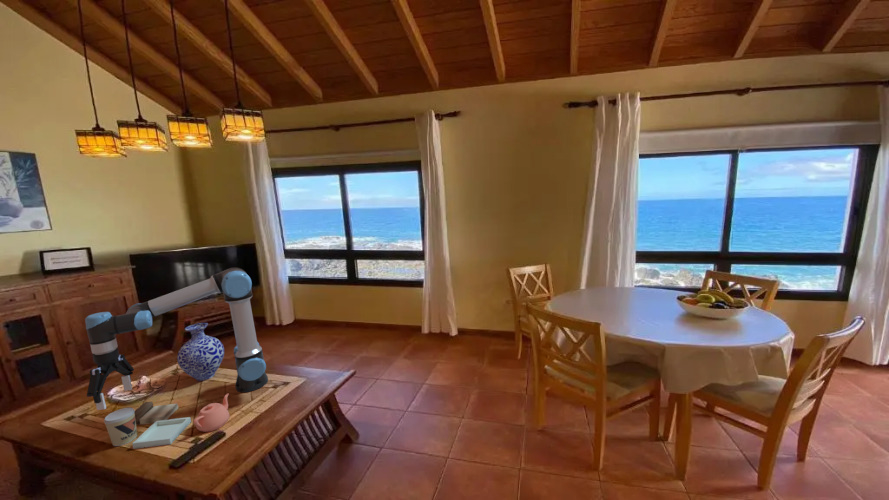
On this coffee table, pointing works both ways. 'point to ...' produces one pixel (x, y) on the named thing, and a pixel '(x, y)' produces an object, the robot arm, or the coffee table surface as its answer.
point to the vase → (200, 353)
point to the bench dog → (142, 411)
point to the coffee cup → (121, 426)
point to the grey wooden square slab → (158, 413)
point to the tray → (162, 433)
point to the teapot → (212, 416)
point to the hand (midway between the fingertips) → (115, 399)
